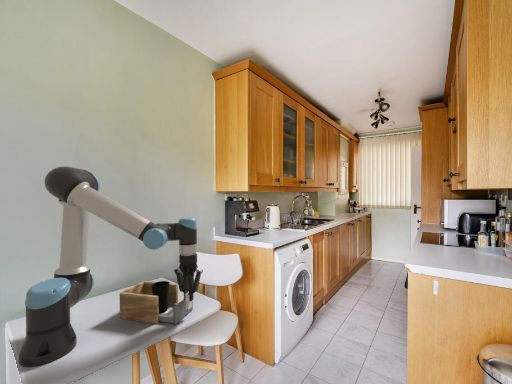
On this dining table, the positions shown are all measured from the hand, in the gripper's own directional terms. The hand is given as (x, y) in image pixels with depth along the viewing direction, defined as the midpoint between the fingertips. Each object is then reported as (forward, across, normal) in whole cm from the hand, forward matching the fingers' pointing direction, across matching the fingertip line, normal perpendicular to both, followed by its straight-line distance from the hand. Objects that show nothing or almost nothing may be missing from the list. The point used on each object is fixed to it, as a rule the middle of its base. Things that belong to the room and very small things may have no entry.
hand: (188, 308), depth 105 cm
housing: (+4, +21, 0) cm, 21 cm away
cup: (+3, +14, 0) cm, 14 cm away
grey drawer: (+4, +11, 0) cm, 12 cm away
